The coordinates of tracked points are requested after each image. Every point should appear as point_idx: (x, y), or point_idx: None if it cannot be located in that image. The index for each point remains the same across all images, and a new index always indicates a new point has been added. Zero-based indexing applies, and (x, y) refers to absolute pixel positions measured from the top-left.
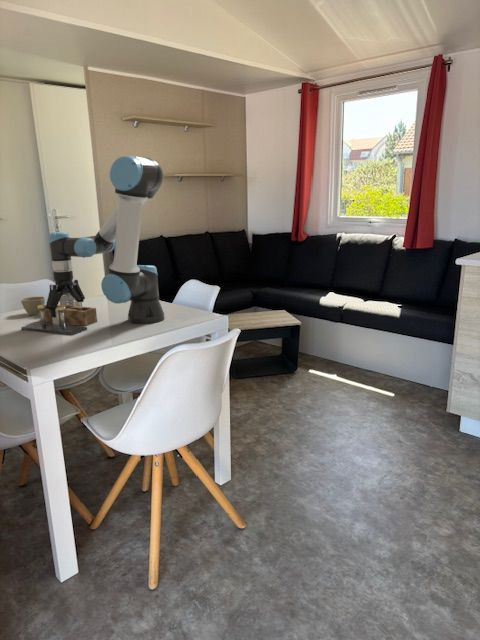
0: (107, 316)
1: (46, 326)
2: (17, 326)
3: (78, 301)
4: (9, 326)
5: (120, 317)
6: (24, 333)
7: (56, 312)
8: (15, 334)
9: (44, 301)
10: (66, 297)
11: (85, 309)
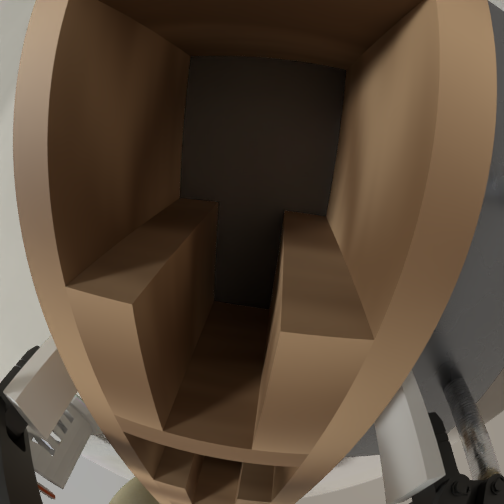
0: (9, 114)
1: (463, 372)
2: (366, 469)
3: (15, 417)
4: (362, 479)
5: (28, 3)
6: (499, 387)
7: (434, 447)
8: (498, 402)
9: (122, 498)
10: (45, 465)
11: (81, 194)
